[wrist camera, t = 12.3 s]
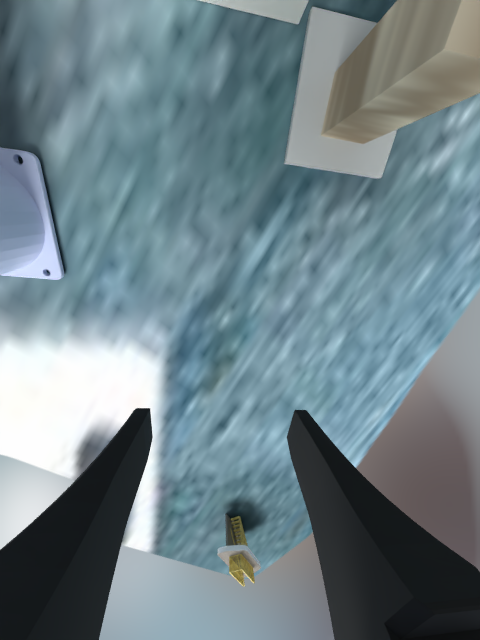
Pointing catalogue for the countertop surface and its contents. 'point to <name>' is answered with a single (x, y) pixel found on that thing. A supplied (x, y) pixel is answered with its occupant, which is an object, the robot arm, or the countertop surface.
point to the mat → (313, 95)
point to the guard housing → (267, 8)
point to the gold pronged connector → (238, 552)
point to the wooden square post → (406, 69)
